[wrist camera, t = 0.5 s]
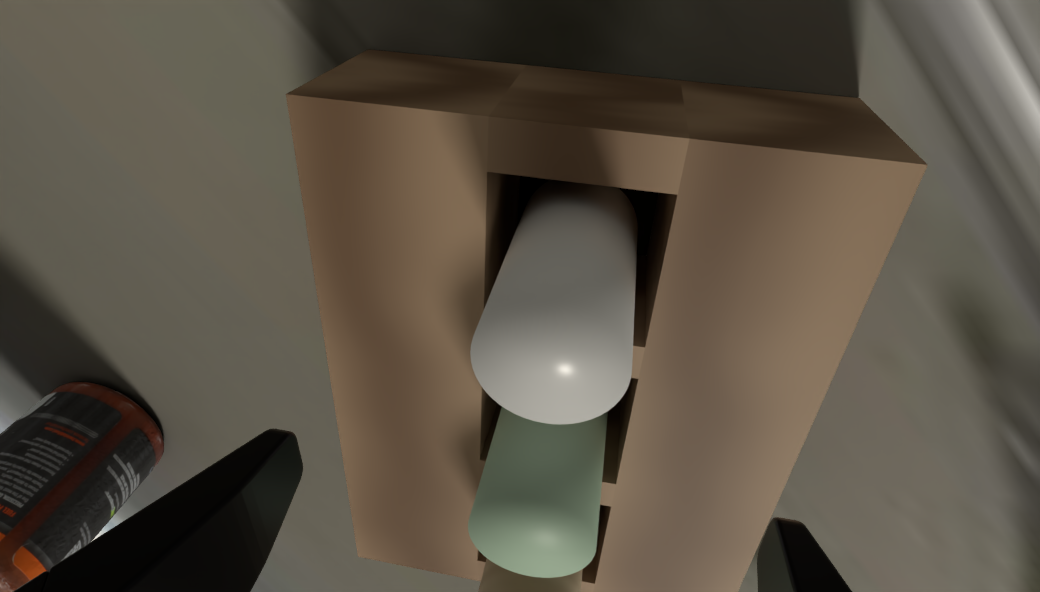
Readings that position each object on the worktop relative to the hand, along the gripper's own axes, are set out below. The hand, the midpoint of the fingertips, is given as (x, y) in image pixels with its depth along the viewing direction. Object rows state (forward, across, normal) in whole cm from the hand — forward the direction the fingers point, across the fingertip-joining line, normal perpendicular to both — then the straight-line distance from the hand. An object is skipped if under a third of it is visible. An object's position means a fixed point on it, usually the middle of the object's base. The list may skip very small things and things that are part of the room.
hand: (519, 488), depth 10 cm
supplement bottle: (+12, +22, +15) cm, 29 cm away
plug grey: (+9, 0, 0) cm, 9 cm away
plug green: (+9, 0, +5) cm, 10 cm away
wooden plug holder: (+12, 0, +5) cm, 13 cm away
